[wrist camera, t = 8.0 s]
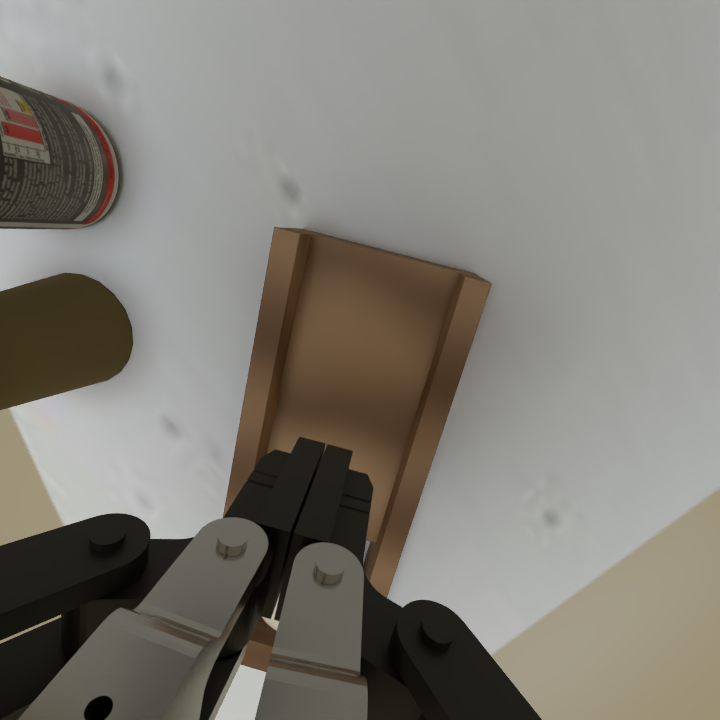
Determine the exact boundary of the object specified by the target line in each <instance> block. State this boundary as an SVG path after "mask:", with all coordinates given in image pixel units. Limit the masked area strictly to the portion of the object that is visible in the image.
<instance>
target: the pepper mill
mask: <svg viewBox="0 0 720 720" xmlns="http://www.w3.org/2000/svg"><path fill="white" fill-rule="evenodd" d="M132 345H133V340H132V327H131V324H130V321H129V319H128V316H127V313H126V311H125V309H124V307H123V306H122V305H121V303H120V302H119V300H118V299H117V298H116V296H115V295H114V294H113V293H112V292H111V291H110V290H108V289H107V288H106V287H105V286H103V285H102V284H101V283H100V282H98V281H96V280H94V279H91V278H89V277H87V276H84V275H81V274H71V273H63V274H59V275H55V276H52V277H48V278H45V279H41V280H38V281H35V282H31V283H28V284H24V285H21V286H18V287H14V288H11V289H7V290H4V291H1V292H0V410H2V409H6V408H10V407H13V406H17V405H20V404H24V403H28V402H31V401H35V400H38V399H42V398H45V397H49V396H53V395H56V394H60V393H63V392H67V391H70V390H74V389H78V388H81V387H85V386H88V385H92V384H95V383H99V382H103V381H106V380H109V379H110V378H112V377H113V376H115V375H116V374H118V373H119V372H121V370H122V369H123V367H124V366H125V365H126V363H127V362H128V360H129V357H130V353H131V349H132Z"/></svg>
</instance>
